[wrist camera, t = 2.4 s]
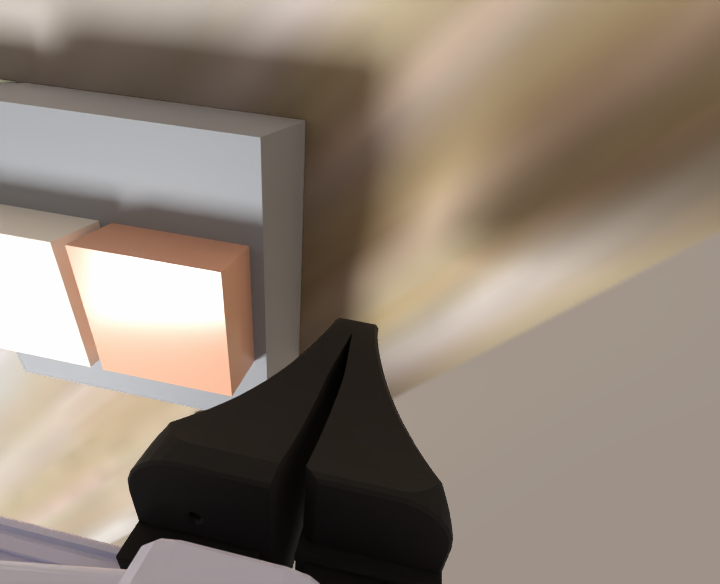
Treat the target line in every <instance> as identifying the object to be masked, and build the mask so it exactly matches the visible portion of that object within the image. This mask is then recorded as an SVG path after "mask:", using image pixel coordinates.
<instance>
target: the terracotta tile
mask: <svg viewBox="0 0 720 584" xmlns="http://www.w3.org/2000/svg"><path fill="white" fill-rule="evenodd" d="M65 247H66V250H67V253H68V257H69V260H70V263H71V266H72V270H73V273H74V276H75V280H76V283H77V286H78V289H79V293H80V296H81V299H82V302H83V306H84V309H85V312H86V316H87V319H88V322H89V325H90V329H91V332H92V335H93V338H94V342H95V345H96V348H97V352H98V355H99V358H100V361H101V365H102V368H103V370H107V371H112V372H117V373H121V374H126V375H131V376H136V377H140V378H145V379H150V380H155V381H160V382H164V383H169V384H174V385H179V386H184V387H188V388H193V389H198V390H203V391H207V392H212V393H217V394H222V395H227V396H231V397H232V396H233V394H234V393H235V391H236V389H237V388H238V386H239V385H240V383H241V381H242V380H243V378H244V377H245V375H246V374H247V372H248V370H249V369H250V367H251V366H252V364H253V362H254V361H255V360H254V339H253V318H252V296H251V275H250V254H249V246H246V245H240V244H234V243H228V242H222V241H217V240H211V239H205V238H199V237H193V236H187V235H181V234H175V233H169V232H163V231H157V230H151V229H145V228H139V227H134V226H128V225H122V224H116V223H110V224H108V225H106V226H104V227H102V228H100V229H98V230H96V231H94V232H91V233H89V234H87V235H85V236H83V237H81V238H79V239H77V240H74V241H72V242H70V243H68V244H66V245H65Z"/></svg>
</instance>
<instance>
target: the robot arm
mask: <svg viewBox="0 0 720 584" xmlns="http://www.w3.org/2000/svg"><path fill="white" fill-rule="evenodd" d="M377 335H378V327H377V326H376V325H374V324H369V323H364V322H358V321H353V320H347V319H342V318H339V319H337V320H336V321H335V322H334V323H333V324H332V325H331V327H330V328H329V329H328V330H327V331H326V332H325V333H324V334H323V335H322V336H321V337H320V338H319V339H318V340H317V341H316V342H315V343H313V344H312V345H311V346H310V347H309V348H308V349H307V350H306V351H305V352H304V353H302V354H301V355H300V356H299V357H297V358H296V359H295V360H294V361H292V362H291V363H290V364H289V365H287V366H286V367H285V368H283V369H282V370H281V371H279V372H278V373H276V374H275V375H273V376H272V377H270V378H269V379H267V380H266V381H264V382H262V383H261V384H259V385H257V386H255V387H254V388H252V389H250V390H248V391H247V392H245V393H243V394H241V395H239V396H237V397H235V398H233V399H231V400H228V401H226V402H224V403H222V404H219V405H217V406H215V407H212V408H210V409H207V410H205V411H202V412H199V413H196V414H193V415H191V416H188V417H185V418H182V419H179V420H176V421H173V422H170V423H169V425H168V426H167V427H166V428H165V429H164V430H163V431H162V432H161V433H160V434H159V435H158V436H157V438H156V439H155V440H154V441H153V442H152V443H151V445H150V446H149V447H148V449H147V450H146V451H145V453H144V454H143V455H142V457H141V458H140V459H139V460H138V462H137V463H136V464H135V466H134V467H133V468H132V470H131V471H130V474H129V477H128V485H129V491H130V494H131V497H132V500H133V503H134V506H135V509H136V513H137V516H138V519H139V522H138V523H137V525H136V526H135V528H134V529H133V531H132V532H131V534H130V535H129V537H128V539H127V540H126V542H125V543H124V545H123V546H122V547H119V546H115V545H111V544H107V543H104V542H100V541H96V540H92V539H88V538H84V537H80V536H76V535H72V534H69V533H65V532H61V531H57V530H53V529H49V528H45V527H41V526H37V525H33V524H30V523H26V522H22V521H18V520H14V519H10V518H6V517H2V516H0V584H442V570H443V567H444V565H445V562H446V560H447V558H448V555H449V553H450V550H451V547H452V541H453V533H452V524H451V518H450V512H449V508H448V504H447V500H446V496H445V492H444V489H443V486H442V483H441V481H440V480H439V479H438V477H437V476H436V475H435V474H434V472H433V471H432V469H431V468H430V467H429V465H428V464H427V462H426V461H425V459H424V458H423V456H422V455H421V453H420V452H419V450H418V449H417V447H416V446H415V444H414V442H413V440H412V438H411V437H410V435H409V433H408V431H407V429H406V428H405V426H404V424H403V422H402V420H401V418H400V416H399V414H398V411H397V409H396V407H395V405H394V402H393V400H392V397H391V395H390V392H389V389H388V386H387V383H386V380H385V376H384V373H383V369H382V365H381V360H380V355H379V349H378V339H377ZM294 560H295V561H296V564H295V570H294V569H292V568H293V564H294Z"/></svg>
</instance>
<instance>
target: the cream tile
mask: <svg viewBox="0 0 720 584" xmlns="http://www.w3.org/2000/svg"><path fill="white" fill-rule="evenodd" d="M98 229H100V224H99V221H98V220H92V219H86V218H80V217H74V216H68V215H62V214H56V213H50V212H45V211H39V210H33V209H27V208H21V207H15V206H9V205H3V204H0V348H2V349H6V350H11V351H16V352H21V353H26V354H30V355H35V356H40V357H45V358H50V359H54V360H59V361H64V362H69V363H73V364H78V365H83V366H88V367H91V366H92V365H94V364H95V363H96V362H97V361H98V360H99V359H100V358H99V355H98V352H97V348H96V345H95V342H94V338H93V335H92V332H91V329H90V325H89V322H88V319H87V316H86V312H85V309H84V306H83V302H82V299H81V296H80V293H79V289H78V286H77V283H76V280H75V276H74V273H73V270H72V266H71V263H70V260H69V257H68V253H67V250H66V247H65V245H66V244H68V243H70V242H72V241H74V240H77V239H79V238H81V237H83V236H85V235H87V234H89V233H91V232H94V231H96V230H98Z"/></svg>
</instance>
